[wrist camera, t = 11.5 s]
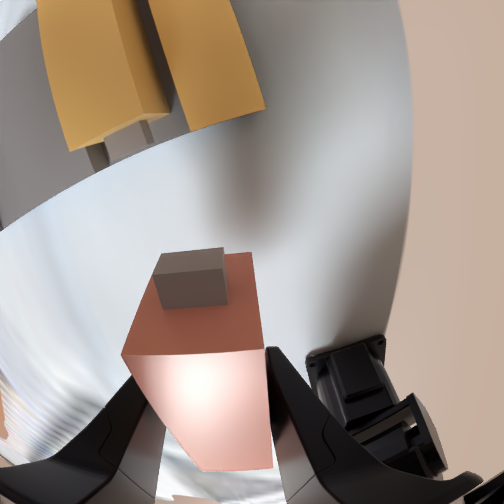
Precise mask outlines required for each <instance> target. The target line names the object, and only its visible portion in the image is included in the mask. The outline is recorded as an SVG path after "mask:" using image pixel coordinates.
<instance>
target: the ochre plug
mask: <svg viewBox="0 0 504 504" xmlns="http://www.w3.org/2000/svg"><path fill="white" fill-rule="evenodd" d="M36 1H37V13H38V22H39V30H40V37H41V44H42V50H43V55H44V61H45V66H46V70H47V75H48V79H49V84H50V88H51V92H52V96H53V99H54V103H55V107H56V110H57V114H58V117H59V121H60V124H61V127H62V130H63V133H64V137H65V140H66V143H67V145H68V148H69V151H70V152H71V151H74V150H77V149H80V148H83V147H86V146H89V145H93V144H96V143H100V142H103V141H104V142H105V145H106V148H107V150H108V153H109V156H110V159H111V161H113V160H116V159H118V158H120V157H122V156H124V155H127V154H129V153H131V152H133V151H136V150H138V149H140V148H143V147H145V146H147V145H150V144H152V143H155V141H154V139H153V136H152V133H151V130H150V127H149V124H148V123H149V122H151V121H154V120H156V119H158V118H161V117H163V116H166V115H169V114H171V111H170V108H169V105H168V102H167V99H166V96H165V93H164V90H163V87H162V83H161V80H160V77H159V74H158V71H157V68H156V64H155V61H154V58H153V55H152V51H151V48H150V45H149V41H148V38H147V35H146V31H145V28H144V25H143V21H142V18H141V14H140V11H139V7H138V4H137V0H36Z"/></svg>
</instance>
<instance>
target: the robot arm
mask: <svg viewBox="0 0 504 504" xmlns="http://www.w3.org/2000/svg"><path fill="white" fill-rule="evenodd" d="M385 348H386V338H385V337H384V335H378V336H375V337H372V338H369V339H367V340H364V341H361V342H358V343H355V344H352V345H349V346H346V347H343V348H340V349H337V350H334V351H331V352H327V353H324V354H321V355H317V356H314V357H311V358H308V359H307V360H306V361H305V364H306V368H307V372H308V376H309V380H310V384H311V388H312V389H311V388H310V387H309V385H308V384H307V383H306V382H305V380H304V379H303V378H302V377H301V375H300V374H299V373H298V372H297V370H296V369H295V368H294V366H293V365H292V364H291V363H290V361H289V360H288V359H287V358H286V356H285V355H284V354H283V352H282V351H281V350H280V349H279V347H277V346H270V347H266V350H265V363H266V377H267V390H268V404H269V417H270V427H271V432H272V437H273V442H274V446H275V451H276V456H277V461H278V466H279V470H280V475H281V480H282V484H283V489H284V493H285V498H286V502H287V504H504V470H503V471H502V472H500V473H499V474H497V475H496V476H494V477H493V478H491V479H490V480H488V481H487V482H485V483H483V484H482V485H480V486H478V485H479V484H481V483H482V482H483V479H482V478H481V477H480V476H479V475H477V474H475V473H472V472H469V471H466V472H464V473H462V474H460V475H458V476H457V477H455V478H453V479H451V480H443V475H442V472H444V471H446V470H447V469H448V466H447V462H446V459H445V455H444V452H443V449H442V446H441V443H440V440H439V437H438V434H437V431H436V428H435V426H434V424H433V422H432V420H431V418H430V416H429V414H428V412H427V410H426V408H425V407H424V406H423V404H422V403H421V402H420V401H419V399H418V398H417V397H416V396H415V394H414V393H411V394H410V395H408V396H407V397H406V399H404V400H403V401H401V402H400V400H399V398H398V396H397V394H396V391H395V389H394V387H393V385H392V383H391V381H390V379H389V376H388V374H387V372H386V371H385V368H384V361H385V350H386V349H385ZM415 422H416V423H417V425H416V426H414V427H413V428H411V427H410V425H412V424H414V423H415ZM165 432H166V426H165V425H164V423H163V422H162V420H161V419H160V418H159V416H158V415H157V413H156V412H155V410H154V409H153V407H152V406H151V404H150V403H149V401H148V400H147V398H146V397H145V395H144V394H143V392H142V390H141V389H140V387H139V386H138V384H137V382H136V381H135V379H134V377H133V376H132V375H131V376H130V377H129V379H128V380H127V381H126V382H125V383H124V384H123V386H122V387H121V388H120V389H119V390H118V391H117V392H116V394H115V395H114V396H113V397H112V398H111V399H110V401H109V402H108V403H107V404H106V405H105V408H103V409H102V410H101V411H100V412H99V413H98V414H97V416H96V417H95V418H94V419H93V420H92V421H91V422H90V423H89V424H88V425H87V426H86V427H85V428H84V429H83V430H82V431H81V432H80V433H79V434H78V435H77V436H75V437H74V438H73V439H72V440H71V441H70V442H69V443H68V444H67V445H65V446H64V447H63V448H62V449H61V450H60V451H59V452H57V453H56V454H55V455H53V456H51V457H49V458H47V459H44V460H40V461H36V462H31V463H26V464H22V465H16V466H11V467H4V468H0V504H154V503H155V500H154V499H155V495H156V488H157V481H158V474H159V468H160V462H161V455H162V449H163V444H164V438H165ZM476 486H478V487H477V488H475V487H476ZM474 488H475V489H474ZM472 489H474V490H472ZM471 490H472V491H471ZM469 491H470V492H469Z"/></svg>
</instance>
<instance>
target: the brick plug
mask: <svg viewBox="0 0 504 504" xmlns="http://www.w3.org/2000/svg"><path fill="white" fill-rule="evenodd" d="M121 356H122V358H123V360H124V362H125V364H126V365H127V367H128V369H129V371H130V372H131V374H132V376H133V377H134V379H135V381H136V382H137V384H138V386H139V387H140V389H141V390H142V392H143V394H144V395H145V397H146V398H147V400H148V401H149V403H150V404H151V406H152V407H153V409H154V410H155V412H156V413H157V415H158V416H159V418H160V419H161V420H162V422H163V423H164V425H165V426H166V427H167V429H168V430H169V431H170V433H171V434H172V436H173V437H174V438H175V439H176V441H177V442H178V443H179V445H180V446H181V447H182V448H183V450H184V451H185V452H186V453H187V455H188V456H189V457H190V458H191V460H192V461H193V462H194V463H195V464H196V466H197V467H198V468H199V469H200V470H201V471H245V470H259V469H270V468H273V459H272V445H271V431H270V417H269V404H268V390H267V377H266V363H265V350H264V342H263V335H262V327H261V320H260V312H259V305H258V297H257V290H256V282H255V275H254V268H253V260H252V253H251V252H246V253H236V254H226V255H225V254H224V247H222V248H212V249H202V250H192V251H183V252H173V253H164V254H161V256H160V258H159V260H158V262H157V264H156V267H155V269H154V271H153V274H152V276H151V278H150V281H149V283H148V285H147V288H146V290H145V293H144V295H143V297H142V300H141V302H140V305H139V307H138V310H137V312H136V315H135V318H134V320H133V323H132V325H131V328H130V331H129V333H128V336H127V339H126V342H125V344H124V347H123V350H122V353H121Z"/></svg>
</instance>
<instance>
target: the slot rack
mask: <svg viewBox="0 0 504 504" xmlns="http://www.w3.org/2000/svg"><path fill="white" fill-rule="evenodd" d="M137 4H138V7H139V11H140V14H141V18H142V21H143V25H144V28H145V31H146V35H147V38H148V41H149V45H150V48H151V51H152V55H153V58H154V61H155V64H156V68H157V71H158V74H159V77H160V80H161V83H162V87H163V90H164V93H165V96H166V99H167V102H168V105H169V108H170V111H171V114H169V115H166V116H163V117H161V118H158V119H156V120H154V121H151V122H149V123H148V124H149V127H150V130H151V133H152V136H153V139H154V141H155V143H152V144H150V145H147V146H145V147H143V148H140V149H138V150H136V151H133V152H131V153H129V154H127V155H124V156H122V157H120V158H118V159H116V160H113V161H111V159H110V156H109V153H108V150H107V148H106V145H105V142H104V141H103V142H100V143H96V144H93V145H89V146H86V147H83V148H80V149H77V150H74V151H71V152H70V151H69V148H68V145H67V143H66V140H65V137H64V133H63V130H62V127H61V124H60V121H59V117H58V114H57V110H56V107H55V103H54V99H53V96H52V92H51V88H50V84H49V79H48V75H47V70H46V66H45V61H44V55H43V50H42V44H41V37H40V30H39V22H38V13H37V9H36V10H35V11H34V12H32V13H31V14H30V15H29V16H27V17H26V18H25V19H24V20H23V21H22V22H20V23H19V24H18V25H17V26H16V27H15V28H14V29H13V30H12V31H10V32H9V33H8V34H7V35H6V36H5V37H4V38H3V39H2V40H1V41H0V231H2V230H3V229H4V228H6V227H7V226H9V225H10V224H11V223H13V222H14V221H16V220H17V219H19V218H20V217H22V216H23V215H25V214H26V213H28V212H29V211H31V210H32V209H34V208H36V207H37V206H39V205H40V204H42V203H44V202H45V201H47V200H48V199H50V198H52V197H53V196H55V195H57V194H58V193H60V192H62V191H64V190H65V189H67V188H69V187H71V186H73V185H74V184H76V183H78V182H80V181H82V180H84V179H85V178H87V177H89V176H91V175H93V174H95V173H97V172H99V171H101V170H103V169H105V168H107V167H109V166H111V165H113V164H115V163H117V162H119V161H121V160H123V159H126V158H128V157H130V156H132V155H134V154H137V153H139V152H141V151H144V150H146V149H148V148H151V147H153V146H156V145H158V144H160V143H163V142H165V141H168V140H171V139H173V138H176V137H178V136H181V135H184V134H187V133H189V132H193V131H196V130H198V129H201V128H204V127H207V126H210V125H213V124H216V123H220V122H223V121H226V120H229V119H233V118H236V117H239V116H243V115H246V114H250V113H254V112H257V111H261V110H265V109H266V106H265V103H264V100H263V97H262V93H261V90H260V87H259V84H258V81H257V77H256V74H255V71H254V68H253V65H252V62H251V59H250V56H249V53H248V50H247V47H246V44H245V42H244V39H243V36H242V33H241V30H240V27H239V25H238V22H237V19H236V16H235V14H234V11H233V8H232V6H231V3H230V0H137Z"/></svg>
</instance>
